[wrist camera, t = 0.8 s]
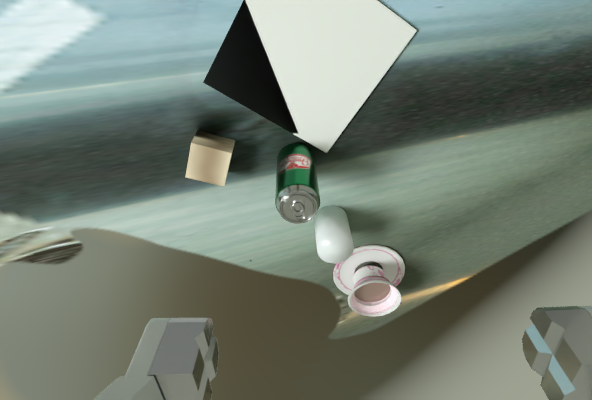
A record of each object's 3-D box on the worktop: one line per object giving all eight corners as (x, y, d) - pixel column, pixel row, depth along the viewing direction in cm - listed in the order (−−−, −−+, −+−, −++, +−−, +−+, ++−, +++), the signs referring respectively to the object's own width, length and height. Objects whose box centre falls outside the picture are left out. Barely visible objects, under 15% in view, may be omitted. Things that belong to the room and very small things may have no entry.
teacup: (321, 285, 66) (324, 314, 61) (352, 234, 60) (359, 261, 55) (381, 302, 69) (389, 331, 64) (418, 255, 63) (430, 283, 58)
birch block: (191, 162, 53) (185, 177, 49) (197, 129, 50) (191, 142, 47) (227, 171, 54) (223, 186, 50) (235, 139, 51) (231, 153, 48)
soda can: (310, 137, 51) (315, 184, 41) (317, 170, 54) (324, 221, 44) (273, 145, 51) (269, 194, 41) (282, 177, 54) (281, 230, 44)
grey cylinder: (307, 223, 59) (310, 254, 53) (326, 200, 56) (330, 229, 51) (334, 236, 60) (339, 268, 54) (353, 214, 58) (361, 244, 52)
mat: (203, 81, 46) (203, 82, 46) (280, -74, 38) (279, -74, 38) (326, 151, 52) (326, 153, 52) (416, 29, 44) (417, 30, 43)
